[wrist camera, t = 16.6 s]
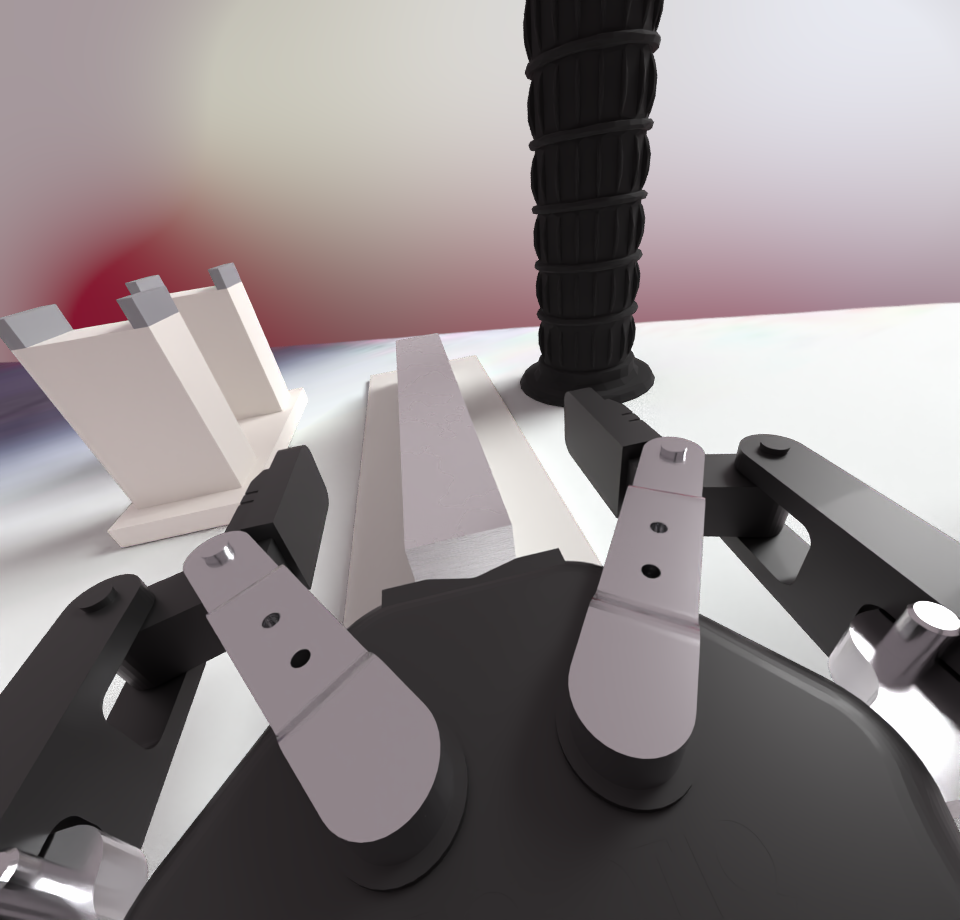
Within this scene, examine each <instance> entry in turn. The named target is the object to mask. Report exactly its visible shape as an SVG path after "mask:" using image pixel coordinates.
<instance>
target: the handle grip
mask: <svg viewBox="0 0 960 920" xmlns="http://www.w3.org/2000/svg"><path fill="white" fill-rule="evenodd" d="M663 3H664V0H526V5H525V13H524V21H523V29H524V30H523V31H524V45H525V48H526V52H527V56H528V60H529V63H528V64H527V67H526V70H525V75H526V77H527V79H530V80H532V81H531V84H530V89H529V96H528V102H527V108H528V123H529V126H530V130H531V134H532V136H533V139H534V140H533V141H531V142H530V144H529V148H530V150H531V151H535V155H534V158H533V161H532V167H531V189H532V193H533V196H534V199H535V201H536V203H537V205H536V206H534V207H533V208H532V212H533V214H538V216H537V219H536V222H535V227H534V247H535V251H536V254H537V256H538V259H539V260H538V261H537V262H536V263H535V268H536V269H537V270H539V273H538V276H537V281H536V296H537V299H538V302H539V305H540V309H539V311H538V312H537V316H538V318H539V320H541V321H542V322H541V324H540V328H539V332H538V336H539V346H540V350H541V353H542V355H541V356H540V358H539V361H538V362H537V363H535V364H533V365H531V366H530V367H529V368H528V369H527V370H526V371H525V373H524V375H523V377H522V379H521V381H520V384H521V389H522V390H523V391H524V392H525V394H526V395H528V396H530V397H531V398H533V399H535V400H537V401H540V402H543V403H546V404H549V405H556V406H562V407H564V397H565V394H566V392H569V391H574V390H579V389H583V388H588V387H590V388H592V389H593V390H594V391H595V392H597V393H598V394H599V395H600V396H601V397H602V398H603V399H604V400H605V399H611V400H613V401H616V402H619V403H622V402H625V401H628V400H631V399H633V398H636V397H638V396H640V395H642V394H643V393H645V392H647V391H648V390H649V389H650V388H651V387H652V385H653V384H654V379H655V377H654V375H653V373H652V371H651V369H650V367H649V365H647V364H646V363H645V362H643V361H641V360H639V359H637V358H635V357H634V354H633V352H632V351H631V348H632V345H633V342H634V339H635V330H636V327H635V322H634V318H633V316H632V314H634V313H635V312H636V310H637V308H638V305H637V303H636V302H635V301H634V300H635V297H636V294H637V291H638V288H639V282H640V270H639V265H638V263H637V261H638V260H639V259H640V258H641V256H642V252H641V250H640V249H638V247H639V245H640V243H641V239H642V236H643V233H644V224H645V215H644V209H643V206H642V204H641V199H644V198H646V196H647V194H648V193H647V192H646V191H645V190H642V188H643V186H644V184H645V181H646V178H647V175H648V172H649V166H650V156H651V152H650V145H649V140H648V138H647V135H646V134H647V130H650V129H651V128H652V126H653V123H654V122H653V120H652V119H648V117H649V114H650V112H651V109H652V106H653V103H654V99H655V96H656V95H655V94H656V84H657V70H656V63H655V59H654V56H653V53H654V52H655V51H656V50H657V49H658V48H659V45H660V41H661V37H660V36H659V34H658V33H657V32H656V30H657V28H658V25H659V22H660V18H661V15H662V11H663Z"/></svg>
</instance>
